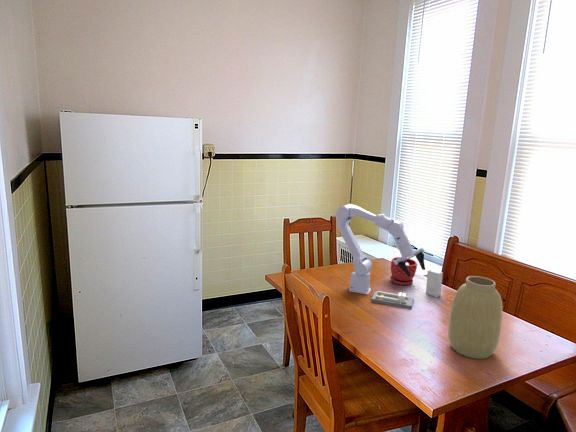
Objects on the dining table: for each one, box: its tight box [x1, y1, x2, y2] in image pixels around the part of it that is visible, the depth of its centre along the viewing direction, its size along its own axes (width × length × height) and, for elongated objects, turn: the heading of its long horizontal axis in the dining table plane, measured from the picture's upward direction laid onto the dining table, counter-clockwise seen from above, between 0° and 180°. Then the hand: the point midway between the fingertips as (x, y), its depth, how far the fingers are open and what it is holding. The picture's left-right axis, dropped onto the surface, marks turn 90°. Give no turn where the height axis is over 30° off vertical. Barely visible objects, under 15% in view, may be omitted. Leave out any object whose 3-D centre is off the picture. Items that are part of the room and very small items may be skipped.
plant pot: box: [390, 256, 418, 286], centre depth 216 cm, size 13×13×12 cm
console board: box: [370, 290, 414, 310], centre depth 192 cm, size 18×10×2 cm, turn 68°
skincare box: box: [425, 268, 444, 298], centre depth 201 cm, size 6×4×12 cm
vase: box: [447, 275, 503, 360], centre depth 149 cm, size 17×17×27 cm
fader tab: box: [397, 292, 407, 301], centre depth 190 cm, size 3×4×3 cm
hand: (416, 272), depth 187 cm, fingers open, 7 cm apart
